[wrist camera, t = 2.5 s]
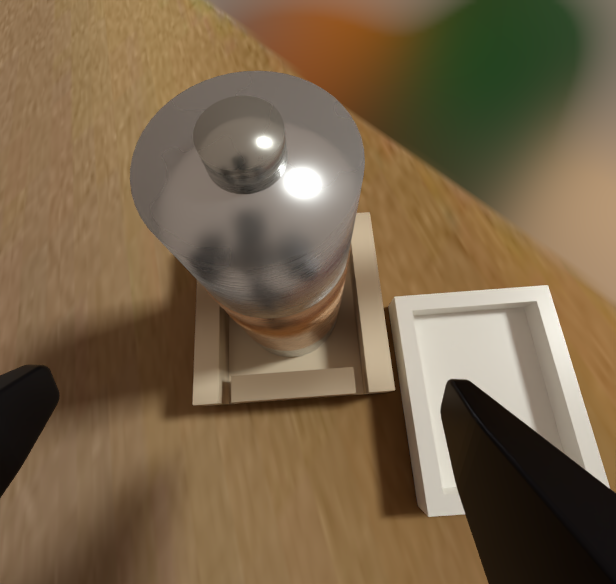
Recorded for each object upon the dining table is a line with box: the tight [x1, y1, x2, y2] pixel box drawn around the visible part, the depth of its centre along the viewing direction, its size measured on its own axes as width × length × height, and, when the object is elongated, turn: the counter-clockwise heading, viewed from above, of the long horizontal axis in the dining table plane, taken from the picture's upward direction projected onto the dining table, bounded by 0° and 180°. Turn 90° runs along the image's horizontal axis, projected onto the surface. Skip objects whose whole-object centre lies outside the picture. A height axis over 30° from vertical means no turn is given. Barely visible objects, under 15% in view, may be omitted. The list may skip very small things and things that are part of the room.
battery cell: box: [130, 71, 365, 357], centre depth 13 cm, size 5×5×13 cm
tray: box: [388, 285, 610, 517], centre depth 18 cm, size 10×8×2 cm
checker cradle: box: [193, 212, 395, 406], centre depth 19 cm, size 9×9×2 cm
